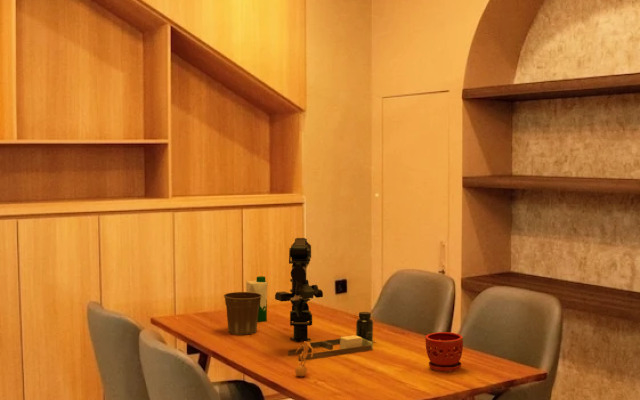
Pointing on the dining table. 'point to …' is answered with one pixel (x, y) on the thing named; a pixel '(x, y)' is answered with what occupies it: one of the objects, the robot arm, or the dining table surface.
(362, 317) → the supplement bottle
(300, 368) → the figurine
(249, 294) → the plant pot
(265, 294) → the milk carton
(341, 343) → the cream block
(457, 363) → the plant pot
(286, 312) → the dining table surface
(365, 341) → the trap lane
